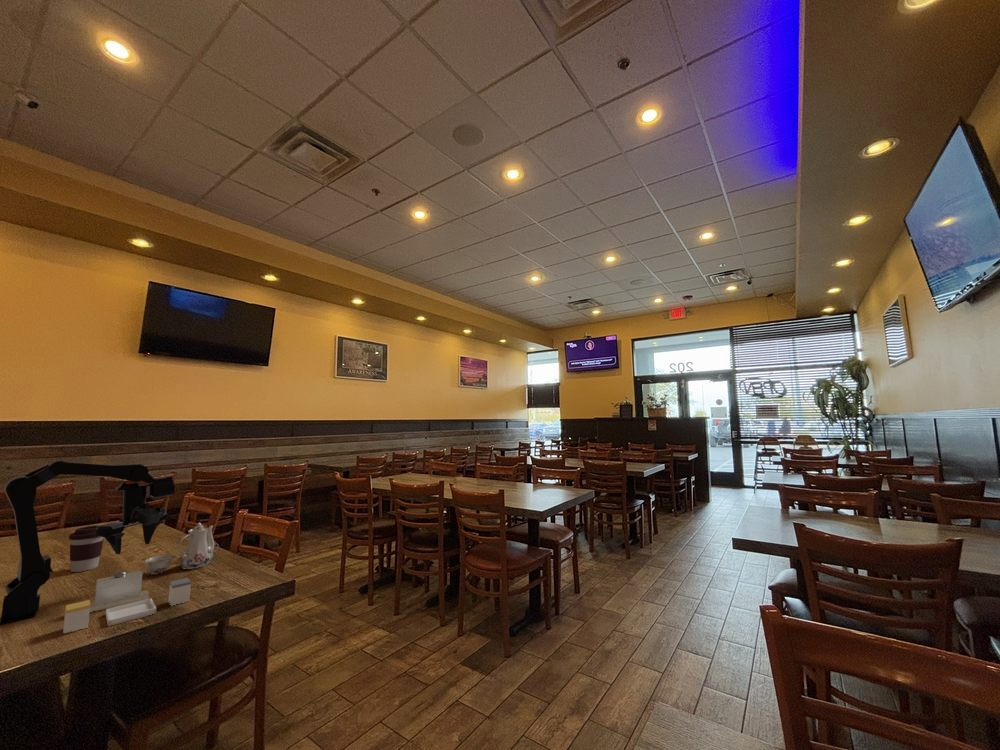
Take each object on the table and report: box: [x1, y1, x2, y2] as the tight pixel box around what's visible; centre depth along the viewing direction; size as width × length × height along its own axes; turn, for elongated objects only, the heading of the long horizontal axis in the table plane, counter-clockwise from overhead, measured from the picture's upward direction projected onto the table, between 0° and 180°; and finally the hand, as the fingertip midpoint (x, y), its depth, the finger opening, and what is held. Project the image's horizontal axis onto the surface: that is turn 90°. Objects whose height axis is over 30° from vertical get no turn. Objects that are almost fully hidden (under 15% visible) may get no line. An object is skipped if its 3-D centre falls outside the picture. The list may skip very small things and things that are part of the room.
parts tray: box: [105, 597, 157, 627], centre depth 117 cm, size 10×10×2 cm
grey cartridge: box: [167, 577, 192, 607], centre depth 125 cm, size 4×4×6 cm
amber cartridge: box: [62, 599, 91, 634], centre depth 109 cm, size 4×4×6 cm
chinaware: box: [143, 522, 220, 575], centre depth 157 cm, size 28×17×17 cm, turn 174°
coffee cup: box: [68, 525, 104, 573], centre depth 153 cm, size 10×10×15 cm
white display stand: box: [90, 570, 150, 613], centre depth 124 cm, size 14×4×9 cm, turn 137°
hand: (133, 548), depth 135 cm, fingers open, 9 cm apart
